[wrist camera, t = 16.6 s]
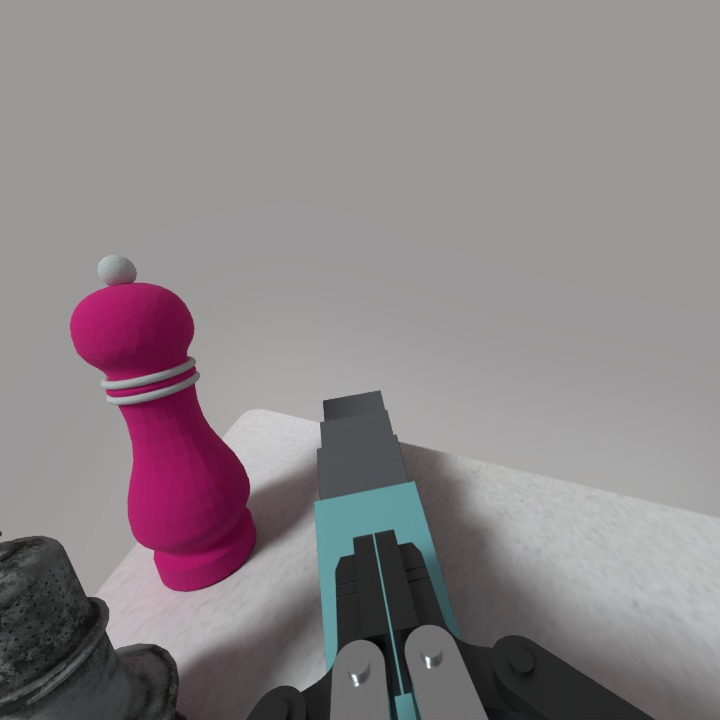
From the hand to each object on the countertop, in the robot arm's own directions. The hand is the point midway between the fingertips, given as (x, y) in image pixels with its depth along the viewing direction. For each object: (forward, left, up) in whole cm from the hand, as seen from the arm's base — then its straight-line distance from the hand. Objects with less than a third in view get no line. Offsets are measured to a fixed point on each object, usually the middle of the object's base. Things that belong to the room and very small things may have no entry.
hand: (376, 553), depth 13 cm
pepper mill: (+15, -4, -8) cm, 18 cm away
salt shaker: (+9, +6, -8) cm, 14 cm away
